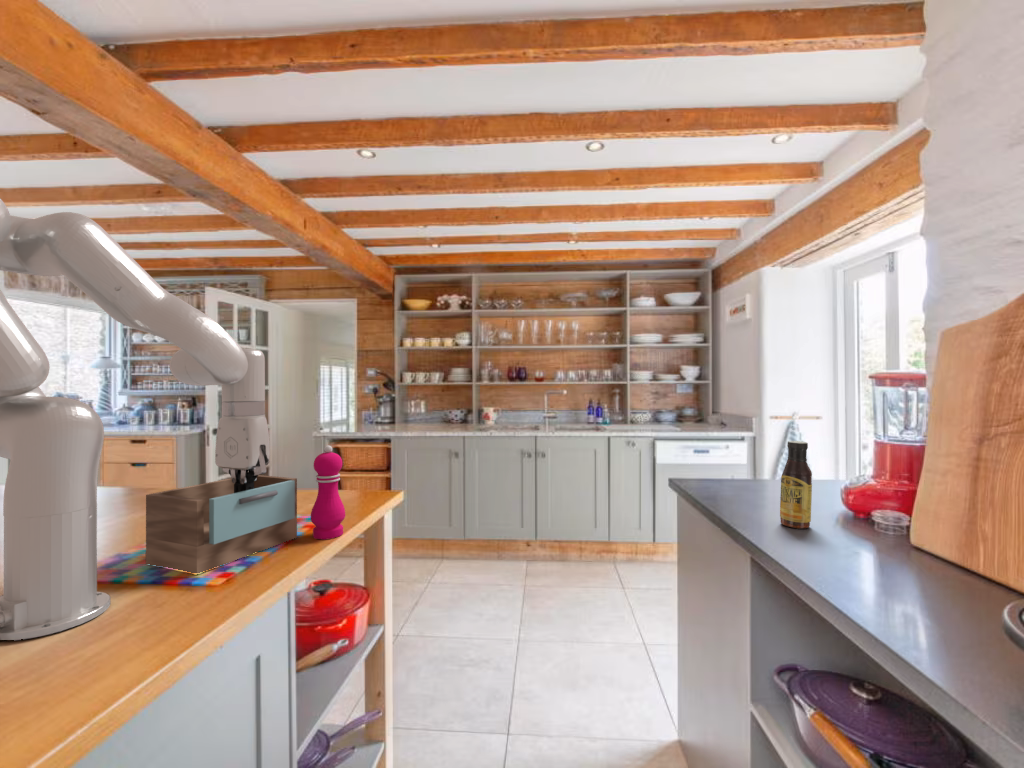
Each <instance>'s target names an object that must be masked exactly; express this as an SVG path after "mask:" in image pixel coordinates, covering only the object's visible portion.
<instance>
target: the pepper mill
mask: <svg viewBox="0 0 1024 768" xmlns="http://www.w3.org/2000/svg"><path fill="white" fill-rule="evenodd" d="M323 451H324V452H322V453H320V454H318V455H317V456H316V457H315V458H314V462H313V469H314V471H315V473H316V476H315V477H316V480H315V481H316V483H317V484H318V485H317V488H318V489H317V496H316V499H315V502H314V504H313V506H312V508H311V512H310V521H311V523H312V525H314V527H313V529H312V537H313V538H314V539H316V540H331V538H332V539H336V538H339V537H341V536H342V535H344V526H343V524H342V522H343V521H344V520H345V518H346V510H345V505H344V503H343V501H342V498H341V496H340V494H339V481H340V480H341V478H340V476H341V473H339V472H340V471H341V470H342V467H343V459H342V456H340V455H339V454H338V453H335V452H333V446H332V445H329V444H328V445H325V447H323ZM335 537H336V538H335Z"/></svg>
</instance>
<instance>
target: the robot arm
mask: <svg viewBox="0 0 1024 768" xmlns="http://www.w3.org/2000/svg"><path fill="white" fill-rule="evenodd" d="M0 271H2V272H8V273H16V274H23V275H31V276H40V277H41V276H43V277H60V276H64V277H65V278H66V279H67V280H69V282H70V283H71V284H73V285H74V286H76V287H77V288H78V289H79V290H80V291H81V292H82V293H84V294H85V295H86V296H87V297H88V298H89V299H90V300H92V302H94V303H95V304H96V305H98V306H99V308H101V309H102V310H103V311H104V312H106V313H107V314H108V316H109V317H111V318H112V319H113V320H115V321H116V322H118V323H120V324H122V325H125V326H127V327H129V328H131V329H135V330H137V331H140V332H144V333H147V334H151V335H153V336H156V337H159V338H161V339H164V340H165V341H167V342H170V343H171V344H173V345H174V346H176V347H178V348H179V350H177V351H176V352H175V353H174V354H173V355H172V356H171V358H170V361H169V369H170V372H171V374H172V375H173V376H174V377H173V378H175V379H176V380H178V381H179V382H181V383H183V384H186V385H190V386H198V387H199V386H201V387H203V386H221V417H220V418H219V421H218V424H217V429H216V437H215V438H216V439H215V449H214V450H215V451H214V452H215V453H214V455H215V457H214V458H215V459H214V460H215V461H214V463H215V465H216V466H217V467H218V468H222V472H224V473H227V474H229V475H230V478H231V480H232V483H235V484H234V493H237V492H242V491H246V490H250V489H254V482H255V481H256V480H257V476H258V475H264V474H266V473H267V465H268V464H270V458H271V444H270V433H269V426H268V421H267V417H266V359H265V354H264V353H263V351H262V350H260V349H255V348H245V347H244V348H242V347H241V346H240V345H239V344H238V342H237V341H236V340H235V338H233V337H232V336H231V335H230V334H229V332H227V330H226V329H224V327H222V325H220V324H219V323H218V322H216V321H215V319H213V318H212V317H210V316H209V315H208V314H206V313H204V312H203V311H201V310H200V309H198V308H196V307H195V306H193V305H191V304H190V303H188V302H186V301H185V300H183V299H182V298H180V297H178V296H177V295H175V294H172V293H170V292H169V291H167V290H166V289H165V288H164V287H162V286H161V285H160V284H159V283H158V282H157V281H156V280H155V279H154V278H153V277H152V276H151V275H150V274H149V273H148V272H147V271H146V270H145V269H144V268H143V267H142V266H141V265H140V264H139V262H137V261H136V260H135V259H134V258H133V257H132V255H130V253H128V252H127V251H126V250H125V248H123V247H122V245H121V244H119V243H118V241H116V240H115V238H114V237H112V236H111V235H110V234H109V233H108V232H107V231H106V230H105V229H104V228H103V227H102V226H101V225H100V224H98V223H97V222H96V221H95V220H94V219H92V218H90V217H88V216H86V215H84V214H81V213H77V212H70V211H69V212H68V211H65V212H64V211H63V212H54V213H50V214H46V215H43V216H40V217H36V218H34V219H33V218H27V217H21V216H14V215H11V213H10V211H9V209H8V207H7V205H6V203H5V202H4V201H3V199H1V197H0ZM13 308H14V307H12V306H11V304H10V302H8V300H7V298H6V297H5V294H4V293H3V291H2V289H0V457H1V458H4V459H8V460H9V461H10V462H9V465H8V470H7V474H6V477H5V484H4V491H3V501H2V502H3V505H2V506H3V507H2V508H3V509H2V511H3V512H2V515H3V516H2V517H3V595H0V640H14V641H22V640H21V639H23V640H28V639H34V638H38V637H39V638H40V637H43V636H48V635H52V634H55V633H60V632H63V631H65V630H69V629H72V628H74V627H76V626H79V625H80V626H81V625H83V624H86V623H87V622H89V621H91V620H94V619H95V618H96V617H98V616H100V615H102V614H103V613H105V612H106V611H107V610H108V609H109V607H110V606H111V596H110V595H109V593H108V594H107V593H106V592H103V591H98V476H99V475H98V474H99V465H100V460H101V456H102V451H103V446H104V440H105V439H104V438H105V430H104V424H103V421H102V419H101V416H100V415H99V414H98V412H96V410H95V409H93V408H92V406H90V405H88V404H87V403H86V402H85V403H84V402H82V401H80V400H77V399H74V398H70V397H64V396H47V395H46V394H45V393H44V391H42V389H41V388H40V386H41V385H42V384H44V382H45V381H46V380H47V378H48V377H49V373H50V362H49V358H48V357H47V355H46V354H47V353H46V352H45V351H44V349H43V348H42V347H41V344H39V342H38V341H37V340H36V338H35V337H34V336H33V335H32V333H31V332H30V330H29V329H28V327H27V326H26V325H25V324H24V322H23V320H22V319H21V318H20V317H19V315H18V314H17V313H16V311H15V310H14V309H13Z"/></svg>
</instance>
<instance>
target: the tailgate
mask: <svg viewBox="0 0 1024 768" xmlns="http://www.w3.org/2000/svg"><path fill="white" fill-rule="evenodd" d="M294 518H295V481H293V480H289V481H285V482H281V483H276V484H272V485H268V486H263V487H259V488H255V489H250V490H246V491H242V492H237V493H233V494H228V495H224V496H220V497H215V498H211V499H209V544H217V543H220V542H223V541H226V540H229V539H232V538H235V537H238V536H241V535H244V534H247V533H251V532H254V531H257V530H260V529H263V528H266V527H269V526H272V525H275V524H278V523H281V522H284V521H287V520H290V519H294Z"/></svg>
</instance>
